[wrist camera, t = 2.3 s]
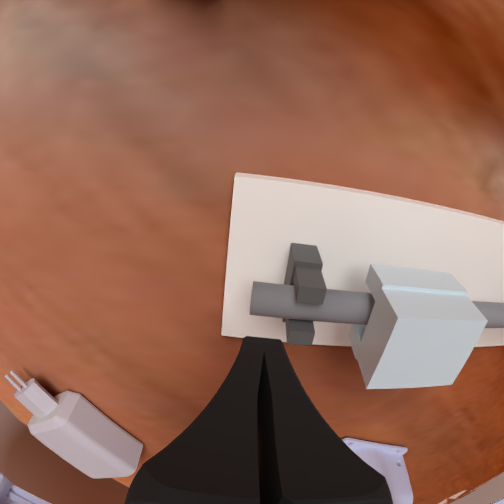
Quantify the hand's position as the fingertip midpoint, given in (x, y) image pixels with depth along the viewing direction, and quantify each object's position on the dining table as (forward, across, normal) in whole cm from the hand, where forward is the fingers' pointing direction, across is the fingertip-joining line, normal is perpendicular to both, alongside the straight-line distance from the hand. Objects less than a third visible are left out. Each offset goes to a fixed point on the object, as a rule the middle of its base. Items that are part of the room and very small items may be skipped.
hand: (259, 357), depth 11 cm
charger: (+8, +18, +20) cm, 28 cm away
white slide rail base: (+8, -12, 0) cm, 15 cm away
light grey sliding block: (+5, -7, 0) cm, 9 cm away
